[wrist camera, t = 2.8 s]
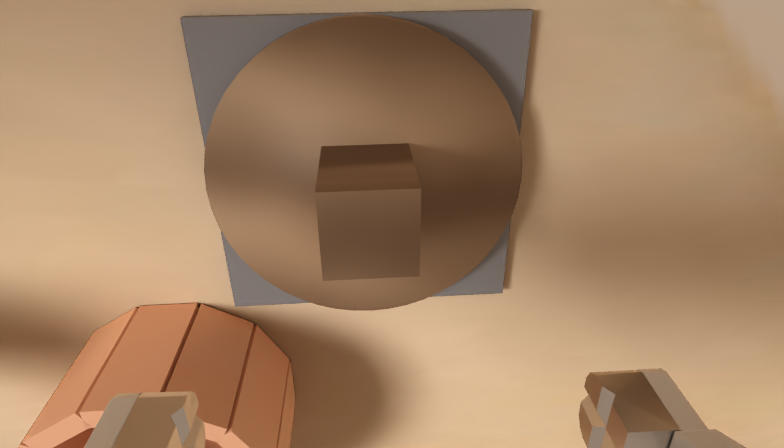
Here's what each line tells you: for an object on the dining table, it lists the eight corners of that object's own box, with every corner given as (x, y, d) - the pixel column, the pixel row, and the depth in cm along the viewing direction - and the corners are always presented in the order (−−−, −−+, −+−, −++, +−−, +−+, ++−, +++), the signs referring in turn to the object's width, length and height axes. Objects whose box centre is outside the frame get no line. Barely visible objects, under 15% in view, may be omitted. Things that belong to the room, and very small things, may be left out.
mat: (183, 16, 18) (180, 17, 18) (529, 8, 19) (533, 10, 18) (236, 301, 24) (235, 306, 23) (500, 287, 24) (502, 292, 24)
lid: (180, 17, 18) (127, 42, 13) (533, 10, 18) (587, 32, 14) (234, 306, 23) (209, 387, 19) (502, 292, 24) (534, 368, 20)
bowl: (53, 310, 23) (-35, 419, 18) (281, 298, 24) (262, 401, 19) (113, 460, 28) (57, 581, 23) (302, 448, 29) (291, 563, 23)
